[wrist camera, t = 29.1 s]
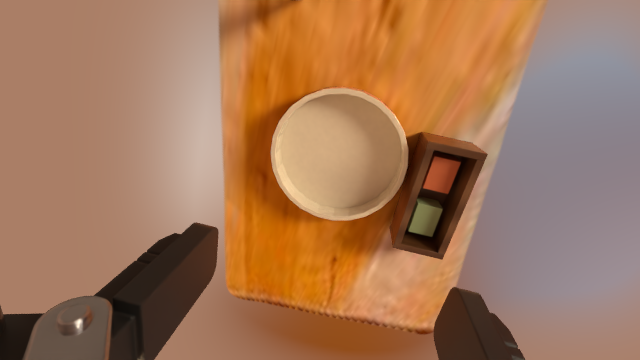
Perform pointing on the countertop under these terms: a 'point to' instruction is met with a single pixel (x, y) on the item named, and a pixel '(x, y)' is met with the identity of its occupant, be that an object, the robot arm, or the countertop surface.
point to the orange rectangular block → (441, 172)
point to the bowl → (339, 153)
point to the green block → (424, 216)
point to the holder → (435, 194)
